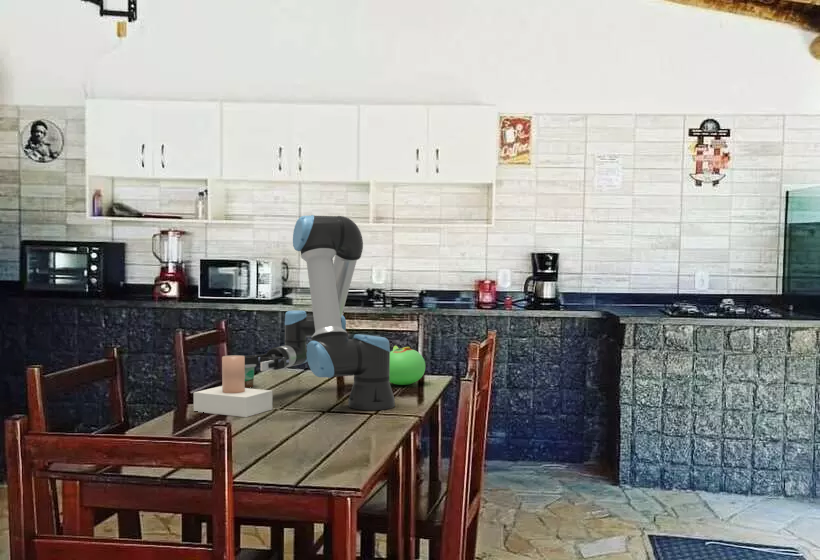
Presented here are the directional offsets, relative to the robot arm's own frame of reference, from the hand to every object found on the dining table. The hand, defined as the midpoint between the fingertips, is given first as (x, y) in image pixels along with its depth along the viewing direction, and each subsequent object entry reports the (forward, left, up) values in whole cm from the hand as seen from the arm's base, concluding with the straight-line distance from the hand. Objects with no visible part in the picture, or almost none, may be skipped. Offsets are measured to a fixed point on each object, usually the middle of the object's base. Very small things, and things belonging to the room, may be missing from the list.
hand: (243, 365), depth 267 cm
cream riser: (0, +6, -13) cm, 15 cm away
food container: (+22, -32, -14) cm, 41 cm away
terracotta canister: (0, +6, -7) cm, 9 cm away
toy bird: (-26, -64, -14) cm, 70 cm away
